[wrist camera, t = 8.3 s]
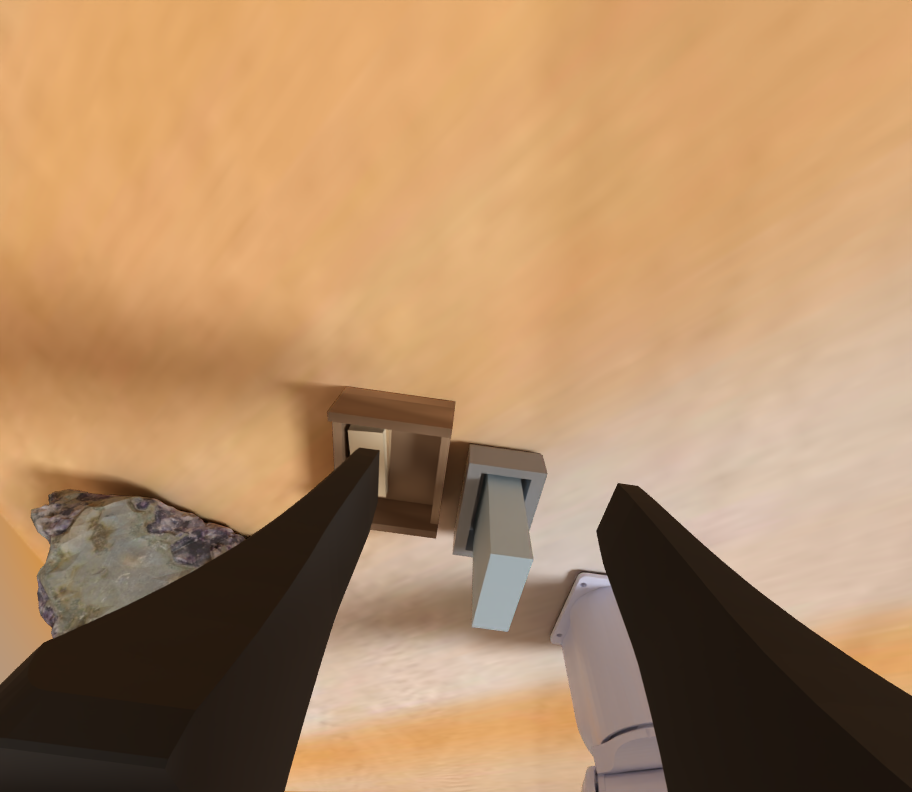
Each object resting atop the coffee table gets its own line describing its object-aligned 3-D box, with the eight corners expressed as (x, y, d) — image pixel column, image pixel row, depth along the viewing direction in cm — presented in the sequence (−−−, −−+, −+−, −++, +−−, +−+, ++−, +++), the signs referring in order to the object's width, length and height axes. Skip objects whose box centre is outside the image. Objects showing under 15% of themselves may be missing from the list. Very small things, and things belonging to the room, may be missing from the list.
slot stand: (515, 537, 26) (518, 563, 24) (454, 528, 26) (452, 554, 24) (541, 451, 23) (547, 473, 21) (470, 441, 23) (469, 463, 21)
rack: (440, 503, 25) (435, 538, 23) (348, 491, 25) (333, 524, 22) (455, 401, 21) (452, 429, 19) (346, 386, 21) (327, 411, 19)
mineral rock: (77, 471, 26) (-133, 607, 17) (194, 436, 24) (25, 571, 15) (189, 581, 31) (75, 727, 22) (293, 560, 29) (213, 713, 20)
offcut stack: (390, 490, 24) (385, 505, 23) (355, 485, 24) (349, 500, 23) (394, 420, 21) (388, 433, 20) (355, 414, 21) (347, 427, 20)
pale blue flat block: (500, 529, 25) (508, 631, 19) (473, 525, 25) (471, 627, 19) (518, 464, 23) (533, 559, 16) (487, 459, 23) (491, 553, 16)
